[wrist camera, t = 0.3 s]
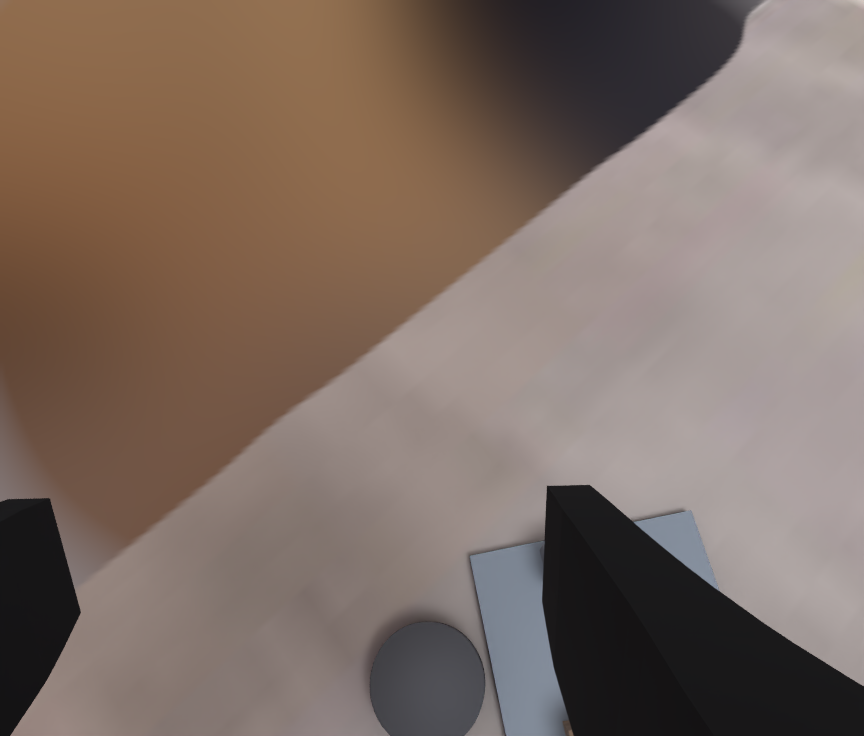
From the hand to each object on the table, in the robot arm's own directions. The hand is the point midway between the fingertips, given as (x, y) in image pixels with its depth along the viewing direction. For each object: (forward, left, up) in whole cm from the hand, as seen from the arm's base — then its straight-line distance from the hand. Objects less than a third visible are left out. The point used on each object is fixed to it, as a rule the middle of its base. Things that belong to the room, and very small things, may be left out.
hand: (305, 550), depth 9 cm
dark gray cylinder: (-4, +2, -29) cm, 29 cm away
